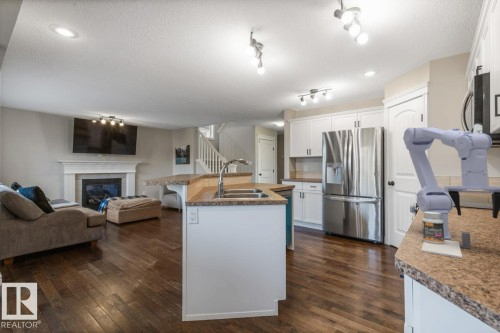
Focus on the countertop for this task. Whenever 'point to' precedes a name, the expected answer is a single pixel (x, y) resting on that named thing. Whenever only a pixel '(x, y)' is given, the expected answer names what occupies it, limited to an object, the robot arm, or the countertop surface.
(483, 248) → the countertop surface
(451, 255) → the pull board
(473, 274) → the countertop surface
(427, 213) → the pill bottle
